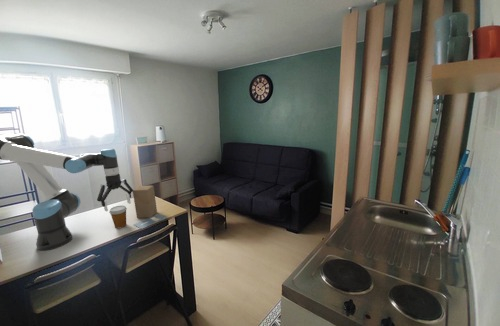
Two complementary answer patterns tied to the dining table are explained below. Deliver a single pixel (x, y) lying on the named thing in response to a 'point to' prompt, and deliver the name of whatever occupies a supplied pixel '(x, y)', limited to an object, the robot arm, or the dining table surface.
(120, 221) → the disposable coffee cup
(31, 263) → the dining table surface
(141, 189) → the wooden block
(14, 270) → the dining table surface
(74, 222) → the dining table surface
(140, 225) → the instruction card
